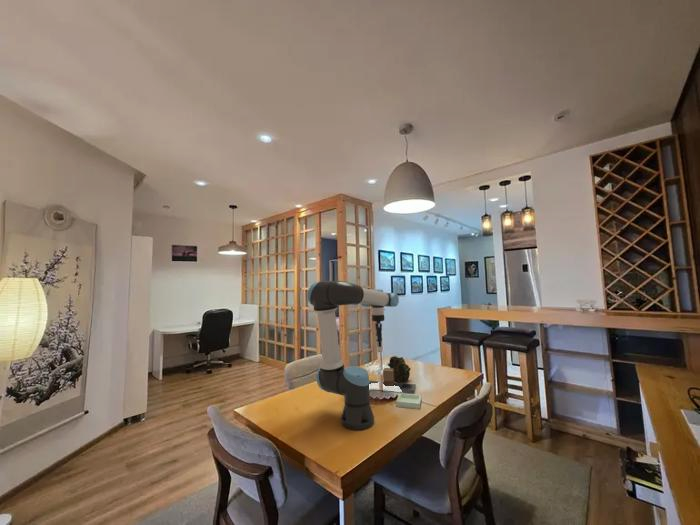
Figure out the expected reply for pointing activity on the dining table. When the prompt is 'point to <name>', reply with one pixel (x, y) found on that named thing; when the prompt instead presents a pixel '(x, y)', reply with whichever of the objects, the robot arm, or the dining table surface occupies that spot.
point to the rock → (399, 369)
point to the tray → (409, 401)
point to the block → (388, 376)
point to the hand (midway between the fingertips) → (379, 349)
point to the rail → (403, 387)
